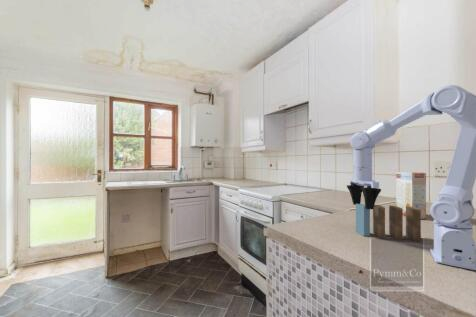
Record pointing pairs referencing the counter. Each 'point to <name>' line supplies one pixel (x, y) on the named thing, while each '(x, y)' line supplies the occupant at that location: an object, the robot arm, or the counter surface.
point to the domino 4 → (413, 223)
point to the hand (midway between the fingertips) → (362, 206)
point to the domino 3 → (396, 222)
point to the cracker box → (411, 191)
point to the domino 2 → (379, 221)
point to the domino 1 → (362, 220)
